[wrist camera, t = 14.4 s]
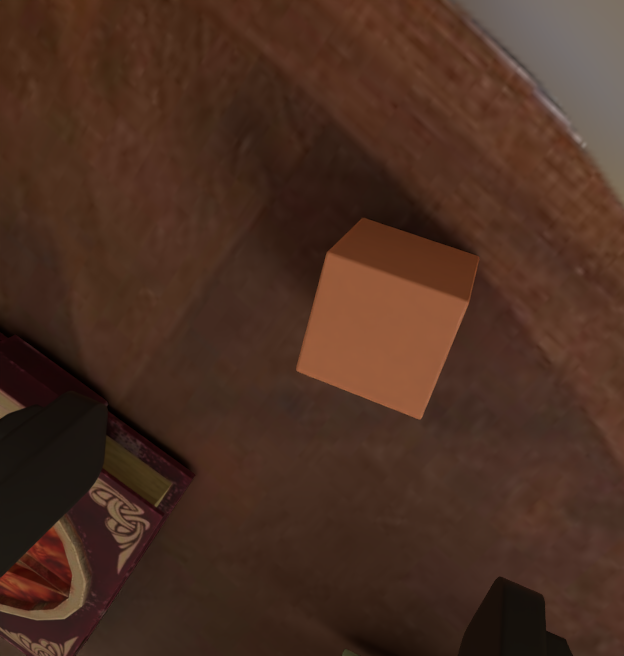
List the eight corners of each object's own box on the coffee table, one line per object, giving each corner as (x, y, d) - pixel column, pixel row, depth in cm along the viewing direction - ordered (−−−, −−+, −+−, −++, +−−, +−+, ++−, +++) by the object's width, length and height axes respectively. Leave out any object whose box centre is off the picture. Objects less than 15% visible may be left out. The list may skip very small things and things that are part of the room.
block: (480, 256, 20) (469, 301, 16) (438, 359, 22) (420, 421, 19) (362, 216, 21) (326, 251, 17) (332, 320, 23) (294, 371, 19)
